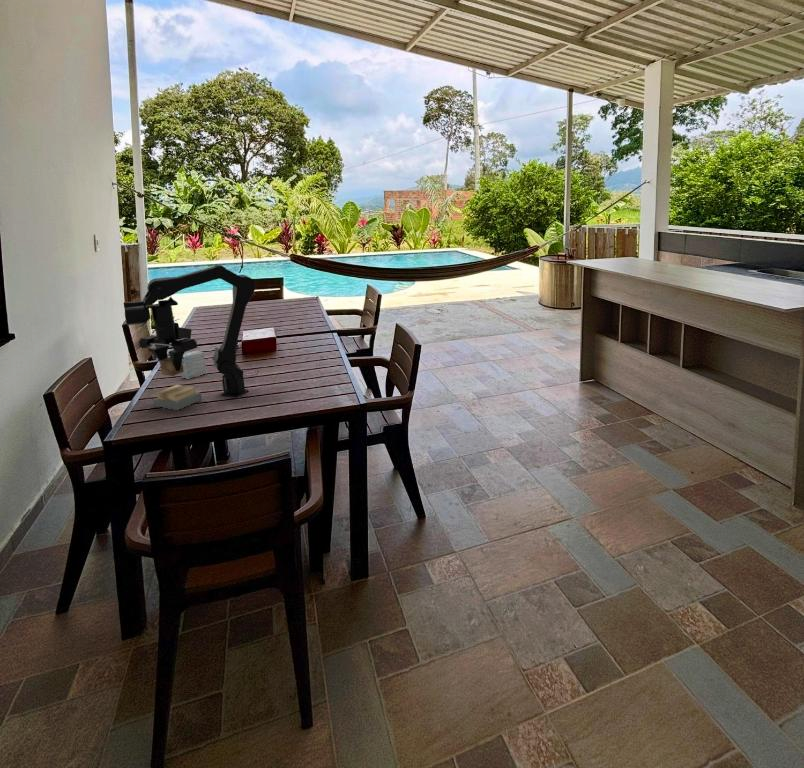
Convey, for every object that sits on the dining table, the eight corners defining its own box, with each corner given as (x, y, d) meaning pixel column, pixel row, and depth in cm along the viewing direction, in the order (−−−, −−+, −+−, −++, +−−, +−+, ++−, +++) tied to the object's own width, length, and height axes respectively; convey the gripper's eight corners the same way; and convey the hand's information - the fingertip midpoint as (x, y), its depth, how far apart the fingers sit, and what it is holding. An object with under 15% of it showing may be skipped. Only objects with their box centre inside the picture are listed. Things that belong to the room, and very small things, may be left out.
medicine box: (200, 372, 208) (197, 350, 205) (207, 374, 205) (203, 351, 202) (181, 377, 202) (177, 355, 199) (187, 380, 199) (184, 356, 197)
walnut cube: (183, 371, 174) (181, 358, 172) (172, 376, 170) (170, 362, 169) (173, 370, 176) (170, 356, 174) (162, 374, 172) (159, 360, 170)
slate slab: (201, 400, 178) (200, 392, 178) (177, 410, 170) (176, 403, 169) (178, 396, 182) (177, 389, 182) (154, 406, 174) (152, 399, 173)
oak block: (195, 393, 177) (194, 387, 176) (176, 401, 170) (175, 395, 170) (177, 390, 180) (176, 384, 180) (157, 398, 174) (156, 392, 173)
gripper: (206, 317, 171) (213, 365, 176) (162, 314, 178) (170, 360, 183) (178, 325, 161) (187, 375, 166) (133, 321, 169) (143, 370, 174)
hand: (172, 370), depth 173 cm, fingers closed on walnut cube, 4 cm apart
